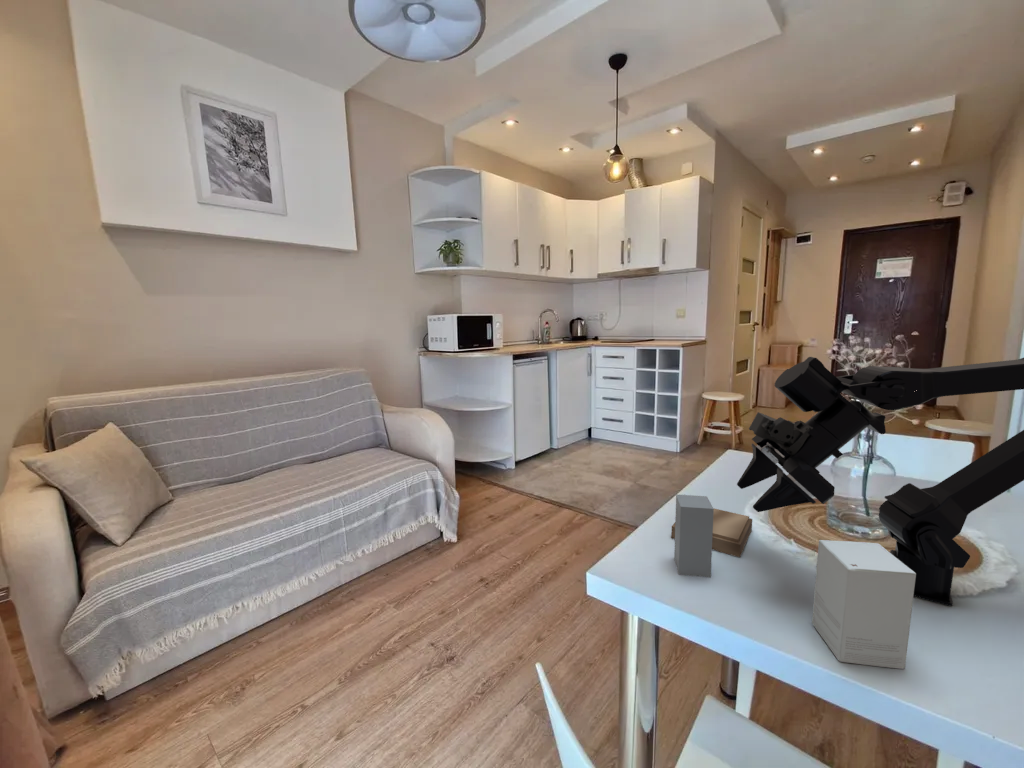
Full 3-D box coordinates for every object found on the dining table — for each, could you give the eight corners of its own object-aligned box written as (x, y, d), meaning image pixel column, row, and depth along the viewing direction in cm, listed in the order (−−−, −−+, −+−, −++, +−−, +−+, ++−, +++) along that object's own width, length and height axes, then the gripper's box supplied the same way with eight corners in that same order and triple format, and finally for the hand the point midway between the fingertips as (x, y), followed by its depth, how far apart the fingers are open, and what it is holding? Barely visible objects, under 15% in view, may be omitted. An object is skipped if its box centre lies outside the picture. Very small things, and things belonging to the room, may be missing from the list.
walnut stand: (751, 530, 86) (752, 516, 86) (739, 557, 77) (740, 541, 76) (689, 514, 93) (689, 501, 93) (671, 537, 84) (671, 523, 84)
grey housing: (704, 560, 76) (706, 496, 74) (710, 577, 71) (713, 508, 69) (674, 558, 77) (676, 494, 75) (678, 574, 72) (680, 506, 71)
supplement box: (907, 671, 52) (919, 574, 50) (837, 662, 53) (847, 568, 51) (870, 628, 59) (879, 541, 57) (809, 621, 61) (817, 537, 59)
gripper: (766, 387, 76) (698, 446, 80) (811, 409, 58) (722, 484, 62) (815, 430, 75) (744, 488, 80) (876, 466, 57) (781, 539, 62)
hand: (746, 497), depth 71 cm, fingers open, 9 cm apart
